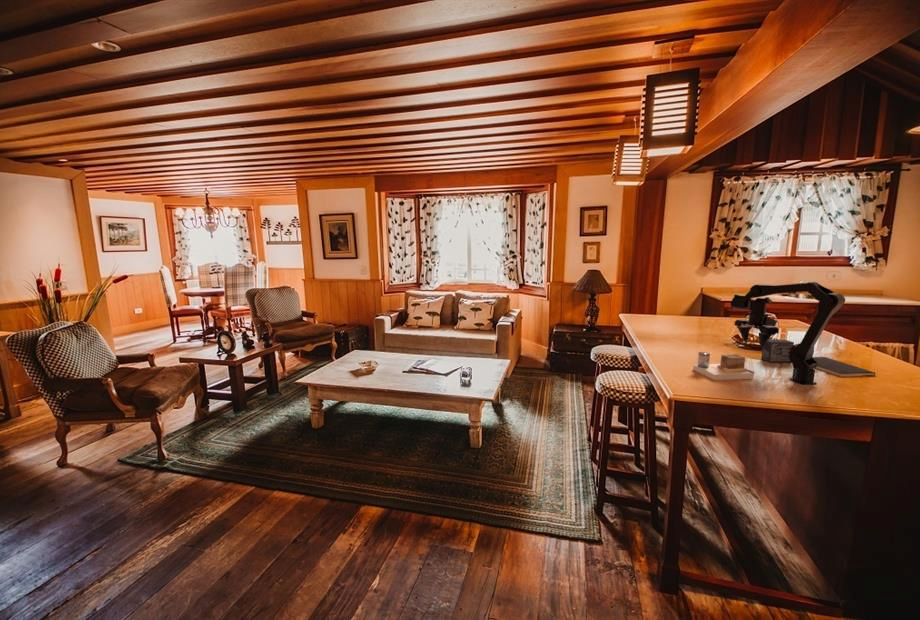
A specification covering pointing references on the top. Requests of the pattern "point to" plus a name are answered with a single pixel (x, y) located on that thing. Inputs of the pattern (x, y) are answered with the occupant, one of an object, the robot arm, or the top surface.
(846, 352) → the top surface
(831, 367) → the hardcover book
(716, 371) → the dock
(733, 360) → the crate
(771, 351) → the small box
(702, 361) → the canister
